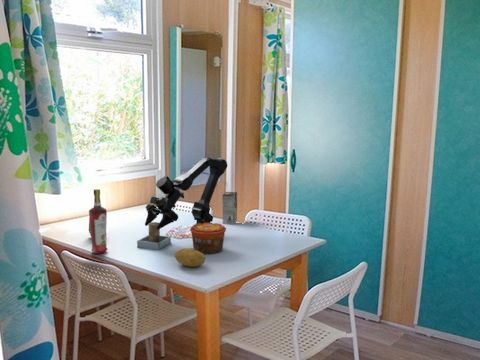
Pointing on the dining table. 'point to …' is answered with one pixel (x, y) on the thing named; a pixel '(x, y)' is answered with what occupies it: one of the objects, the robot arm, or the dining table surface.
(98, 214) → the liquor
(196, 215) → the robot arm
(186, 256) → the potato
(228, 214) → the coffee box
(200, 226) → the food container
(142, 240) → the bin
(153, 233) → the walnut cylinder
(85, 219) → the dining table surface
